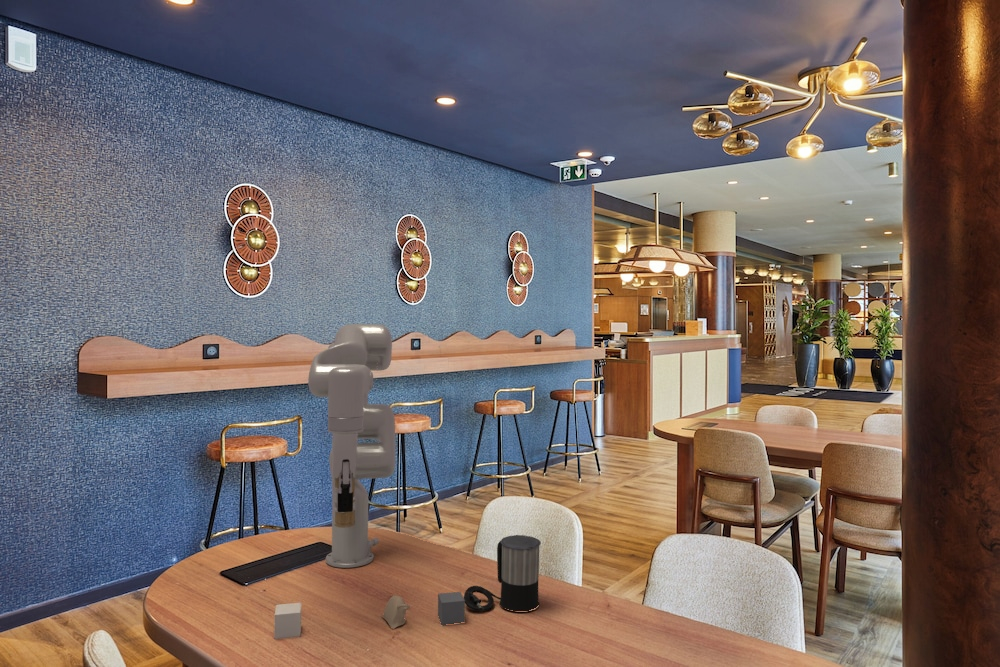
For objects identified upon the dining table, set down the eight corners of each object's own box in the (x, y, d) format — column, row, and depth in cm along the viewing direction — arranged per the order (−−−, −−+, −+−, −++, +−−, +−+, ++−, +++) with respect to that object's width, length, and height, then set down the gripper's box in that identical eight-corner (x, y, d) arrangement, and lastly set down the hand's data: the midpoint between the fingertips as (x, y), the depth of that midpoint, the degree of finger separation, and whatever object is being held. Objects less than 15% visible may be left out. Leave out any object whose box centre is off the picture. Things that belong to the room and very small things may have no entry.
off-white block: (276, 628, 140) (276, 604, 140) (301, 626, 141) (301, 602, 141) (274, 639, 135) (274, 614, 135) (300, 636, 136) (300, 612, 136)
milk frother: (548, 605, 153) (549, 541, 153) (500, 627, 142) (500, 557, 142) (503, 588, 163) (504, 527, 163) (455, 606, 152) (456, 541, 152)
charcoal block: (437, 616, 147) (438, 593, 147) (460, 614, 148) (460, 591, 148) (441, 626, 142) (441, 602, 142) (464, 624, 143) (464, 600, 143)
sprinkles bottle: (358, 526, 144) (359, 464, 144) (338, 529, 142) (338, 466, 142) (350, 520, 148) (351, 460, 148) (330, 523, 146) (331, 462, 145)
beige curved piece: (399, 613, 148) (399, 589, 148) (412, 628, 141) (412, 603, 141) (381, 616, 146) (381, 592, 146) (393, 632, 139) (394, 607, 139)
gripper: (328, 419, 152) (327, 499, 152) (327, 431, 136) (326, 520, 136) (361, 418, 154) (361, 497, 154) (365, 430, 137) (364, 518, 138)
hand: (344, 507), depth 145 cm, fingers closed on sprinkles bottle, 4 cm apart
